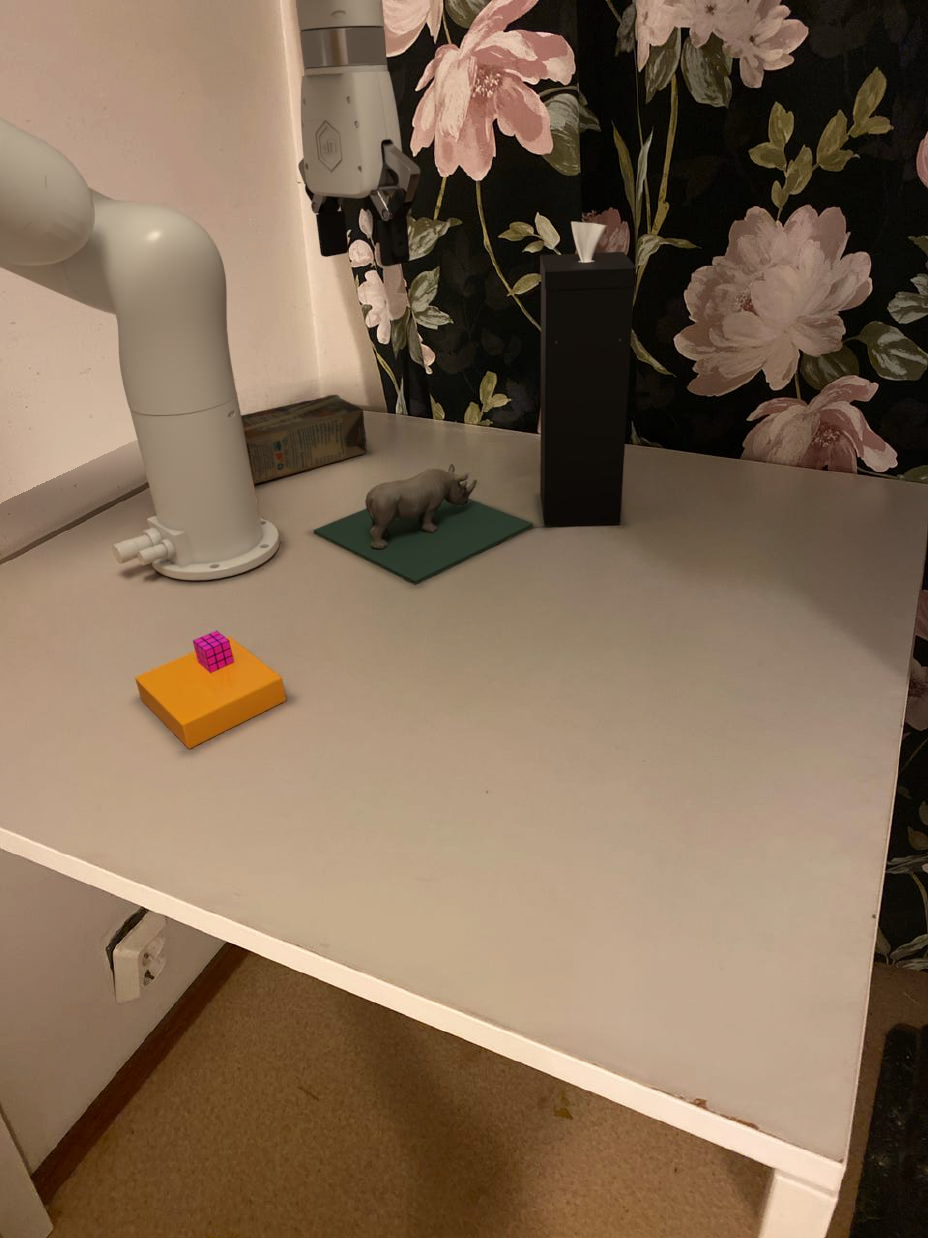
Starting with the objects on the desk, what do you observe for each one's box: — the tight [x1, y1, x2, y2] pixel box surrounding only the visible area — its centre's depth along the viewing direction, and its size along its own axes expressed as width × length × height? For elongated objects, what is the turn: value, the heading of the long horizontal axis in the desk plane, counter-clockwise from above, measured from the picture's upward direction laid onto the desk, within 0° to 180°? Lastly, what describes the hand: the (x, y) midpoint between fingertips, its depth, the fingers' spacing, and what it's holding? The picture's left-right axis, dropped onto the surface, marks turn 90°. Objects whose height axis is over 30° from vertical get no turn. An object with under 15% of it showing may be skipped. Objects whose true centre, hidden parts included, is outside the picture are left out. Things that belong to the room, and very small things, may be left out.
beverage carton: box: [241, 394, 368, 485], centre depth 104 cm, size 8×19×7 cm, turn 126°
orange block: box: [134, 630, 287, 749], centre depth 64 cm, size 8×8×4 cm
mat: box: [313, 497, 534, 585], centre depth 89 cm, size 16×16×1 cm
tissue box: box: [539, 221, 637, 527], centre depth 84 cm, size 8×8×28 cm
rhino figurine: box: [365, 463, 477, 549], centre depth 87 cm, size 4×14×6 cm, turn 126°
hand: (364, 259), depth 86 cm, fingers open, 9 cm apart
